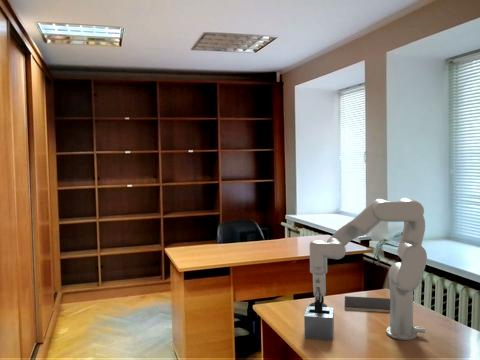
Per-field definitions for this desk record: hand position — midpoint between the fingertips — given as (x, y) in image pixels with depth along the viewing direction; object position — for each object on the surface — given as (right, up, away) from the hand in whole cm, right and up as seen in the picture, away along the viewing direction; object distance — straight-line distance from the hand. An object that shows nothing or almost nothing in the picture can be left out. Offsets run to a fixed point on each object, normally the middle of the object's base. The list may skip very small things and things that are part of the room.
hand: (319, 306), depth 189 cm
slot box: (0, -12, +1) cm, 12 cm away
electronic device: (+4, -11, +27) cm, 29 cm away
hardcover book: (+31, -10, +32) cm, 46 cm away
